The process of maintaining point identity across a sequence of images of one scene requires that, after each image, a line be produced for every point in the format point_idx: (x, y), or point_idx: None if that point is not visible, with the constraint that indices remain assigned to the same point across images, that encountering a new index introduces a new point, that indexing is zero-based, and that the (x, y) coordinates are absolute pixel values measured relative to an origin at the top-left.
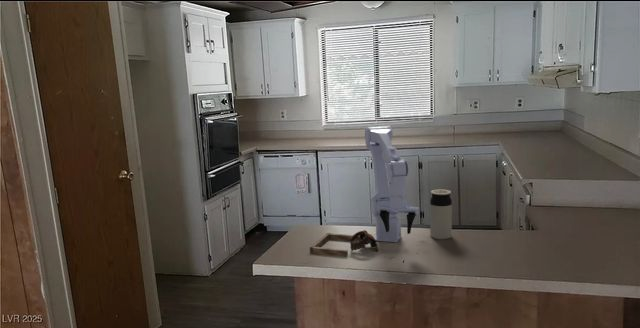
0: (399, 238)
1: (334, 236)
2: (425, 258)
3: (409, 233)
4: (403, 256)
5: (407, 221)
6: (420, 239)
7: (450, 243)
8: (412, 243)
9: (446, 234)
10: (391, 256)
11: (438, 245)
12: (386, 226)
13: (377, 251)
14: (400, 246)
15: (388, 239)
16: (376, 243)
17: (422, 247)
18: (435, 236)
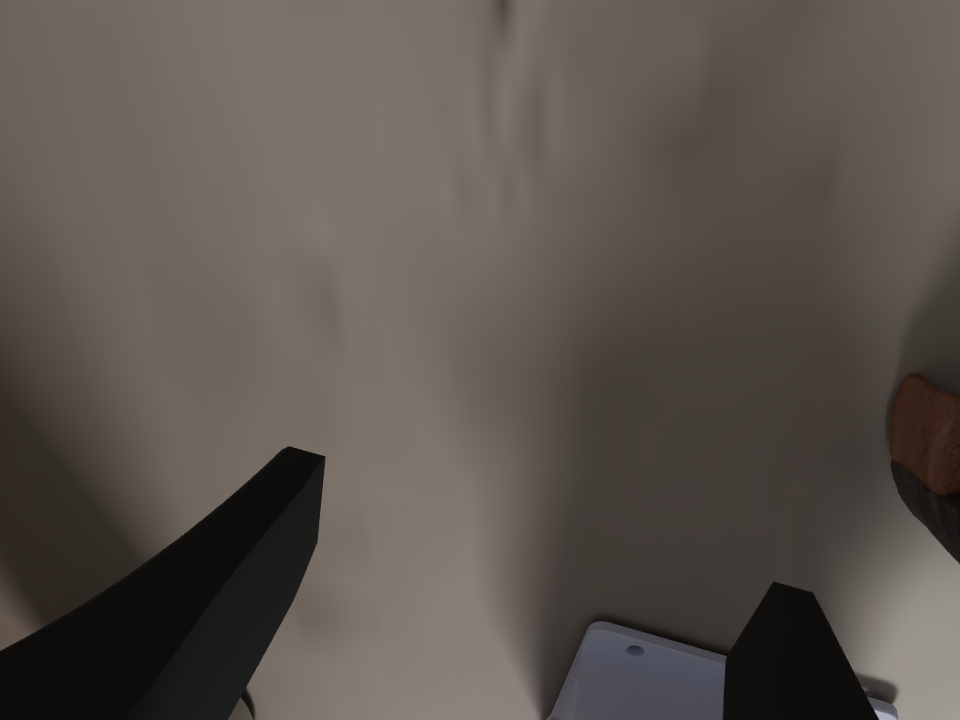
0: (558, 698)
1: None
2: (178, 106)
3: (278, 453)
4: (504, 180)
5: (140, 687)
6: (338, 662)
7: (35, 547)
8: (410, 584)
9: None
10: (701, 175)
11: (131, 512)
12: (831, 702)
13: (912, 375)
14: (550, 520)
15: (694, 682)
16: (946, 495)
17: None
18: None
